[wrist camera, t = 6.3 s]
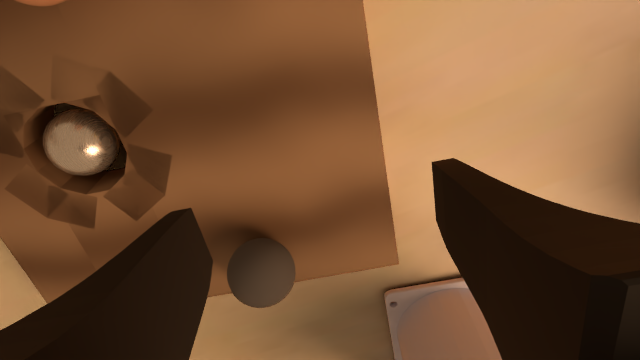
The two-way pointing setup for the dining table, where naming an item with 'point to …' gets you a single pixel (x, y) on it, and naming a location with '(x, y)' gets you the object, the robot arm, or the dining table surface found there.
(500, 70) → the dining table surface
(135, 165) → the board
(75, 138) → the steel ball
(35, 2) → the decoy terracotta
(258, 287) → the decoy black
